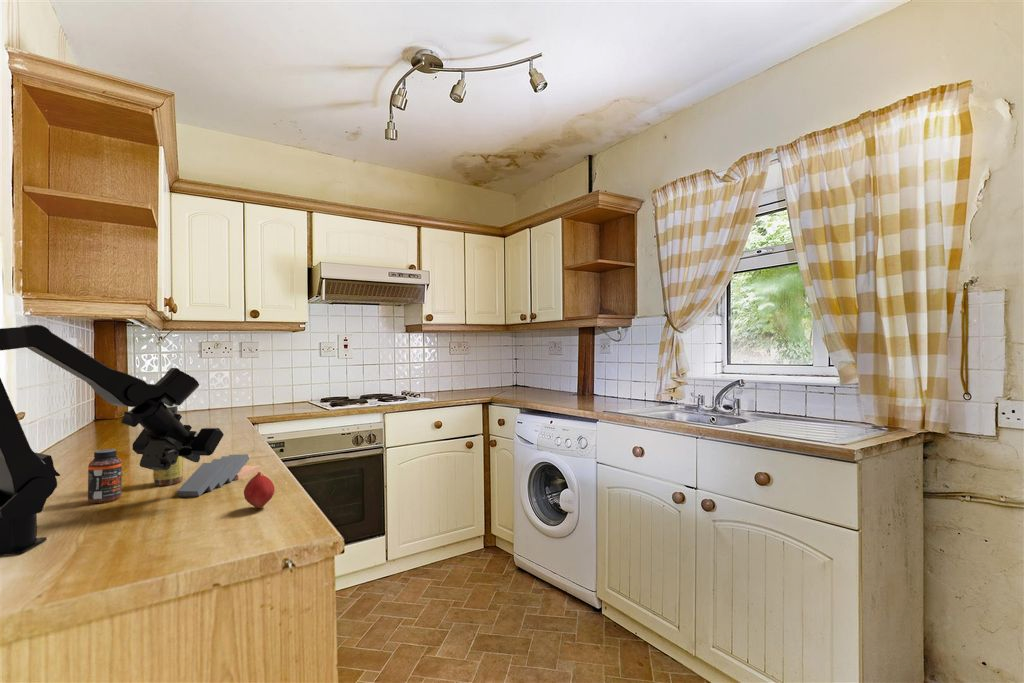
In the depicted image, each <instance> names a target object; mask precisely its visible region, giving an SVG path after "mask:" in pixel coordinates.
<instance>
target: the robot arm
mask: <svg viewBox="0 0 1024 683" xmlns="http://www.w3.org/2000/svg"><path fill="white" fill-rule="evenodd" d="M25 348H26V349H28V350H30V351H31V352H33V353H35V354H37V355H39V356H40V357H42V358H44V359H45V360H47V361H49V362H51V363H52V364H55V365H56V366H58V367H60V368H61V369H63V370H65V371H66V372H68V373H69V374H72V375H73V376H75V377H76V378H78V379H80V380H83V381H84V382H85V383H86V384H87V385H89V386H90V387H91V388H92V389H93V391H94V392H95V393H96V394H97V395H98V396H99V397H101V398H102V399H103V400H104V402H105V401H106V403H108V404H110V405H113V406H116V407H117V406H118V407H119V406H120V407H127V408H128V407H129V408H132V409H130V410H129V411H124V412H123V417H122V418H121V421H120V423H121V424H123V425H125V426H128V427H133V428H135V427H137V426H138V425H140V426H141V427H142V428H143V429H142V430H141V432H140V433H139V434H138V436H137V437H136V439H135V440H134V441H133V443H132V450H133V451H134V452H135V453H136V454H137V455H142V456H141V459H140V460H139V466H140V467H141V468H144V469H148V470H152V471H153V470H168V469H169V468H170V466H171V465H174V464H175V463H176V462H177V459H178V456H181V457H183V459H186V460H188V461H190V462H193V463H199V462H200V460H201V457H202V456H203V457H204V456H205V457H206V456H207V457H208V456H209V457H210V456H211V455H213V454H214V453H215V450H216V448H217V447H218V446H219V444H220V442H221V440H222V439H223V437H224V435H225V434H224V433H223V431H222V430H221V428H219V427H203V428H200V429H199V432H198V431H197V430H192V428H193V427H192V426H191V425H190V424H183V423H182V421H181V419H182V418H183V416H182V415H181V414H180V413H177V414H173V413H172V412H171V411H170V410H169V409H168V408H167V406H166V405H168V406H173V405H177V406H178V407H179V406H181V405H182V404H183V403H184V402H185V401H186V400H187V399H188V398H189V397H190V396H191V395H192V394H193V393H194V392H195V391H196V390H197V389H198V388H199V387H200V383H199V381H197V379H196V378H195V377H194V376H192V375H190V374H188V373H186V372H185V371H182V370H180V368H178V367H170V368H169V369H168V371H167V372H166V373H165V374H164V375H163V376H162V377H161V378H160V379H159V380H158V381H157V382H156V383H155V384H154V383H147V382H146V381H145V380H143V379H140V378H139V377H137V376H134V375H131V374H128V373H125V372H122V371H120V370H117V369H114V368H111V367H108V366H107V365H106V364H104V363H102V362H100V361H99V360H97V359H95V358H94V357H92V356H91V355H89V354H87V353H86V352H84V351H83V350H81V349H79V348H77V347H76V346H74V345H73V344H71V343H69V342H67V341H66V340H64V339H63V338H61V337H59V336H58V335H57V334H55V333H53V332H52V331H51V330H50V329H49V328H48V327H46V326H45V325H40V324H28V325H22V326H19V327H18V326H17V327H2V328H1V327H0V351H9V350H17V349H25ZM22 427H23V426H22V425H21V422H20V420H19V417H18V416H17V413H16V411H15V408H14V406H13V404H12V402H11V399H10V396H9V395H8V393H7V390H6V388H5V386H4V383H3V380H2V378H1V377H0V556H11V555H20V554H24V553H26V552H28V551H29V550H31V549H33V548H35V547H36V546H38V545H40V544H43V543H44V542H45V541H47V537H46V536H43V537H37V536H38V534H37V533H38V530H37V528H38V526H37V525H38V524H37V523H38V520H37V519H38V517H37V516H38V515H37V514H40V513H41V512H42V511H43V509H44V506H45V504H46V502H47V499H48V498H50V496H52V495H53V493H54V492H55V490H56V489H57V487H58V481H57V479H58V478H56V477H60V476H61V474H60V473H59V472H58V471H57V470H56V468H55V466H54V460H53V458H52V456H51V455H50V454H45V453H40V452H35V451H33V449H32V448H31V445H30V443H29V440H28V439H27V436H26V434H25V431H24V429H23V428H22Z"/></svg>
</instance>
